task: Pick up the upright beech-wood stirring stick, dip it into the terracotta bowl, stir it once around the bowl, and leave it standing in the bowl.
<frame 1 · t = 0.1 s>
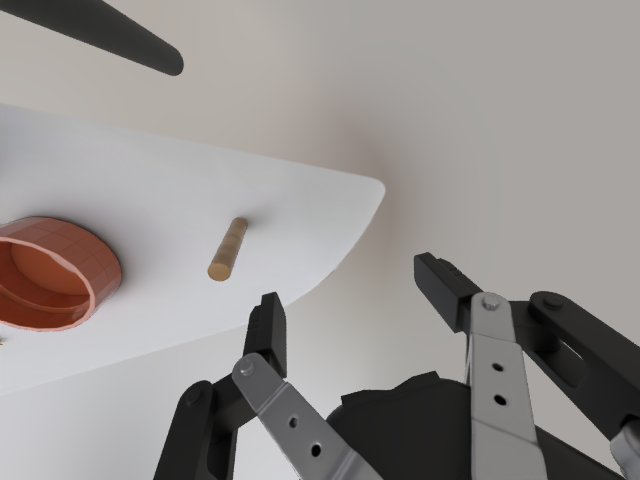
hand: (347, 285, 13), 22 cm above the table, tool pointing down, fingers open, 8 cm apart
stirring stick: (239, 224, 34), on the table
bowl: (66, 262, 33), on the table
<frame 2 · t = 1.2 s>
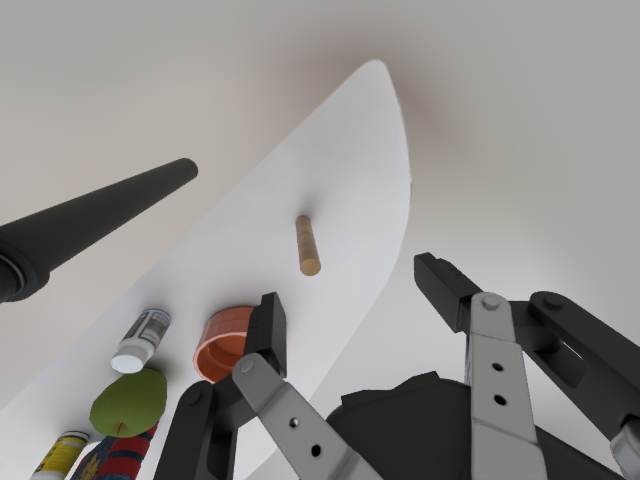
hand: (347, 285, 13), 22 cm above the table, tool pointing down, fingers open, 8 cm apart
pill bottle: (156, 318, 40), on the table
stirring stick: (302, 222, 35), on the table
bowl: (244, 333, 44), on the table
supplement bottle: (76, 435, 52), on the table
red striped curved tube: (122, 436, 54), on the table
apple: (149, 372, 45), on the table
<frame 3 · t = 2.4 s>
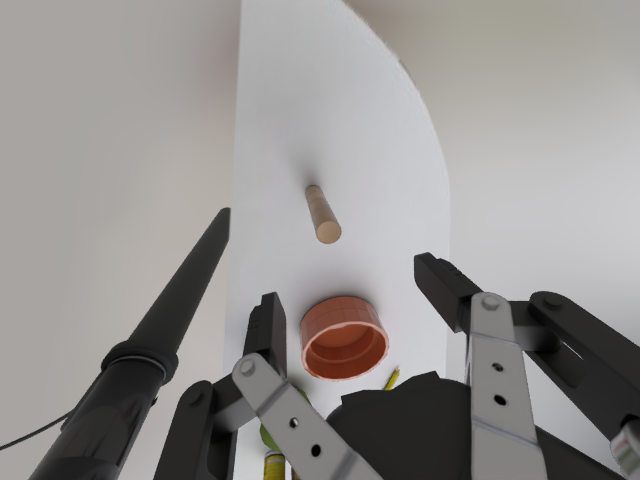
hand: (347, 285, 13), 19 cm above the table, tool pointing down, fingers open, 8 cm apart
pencil: (385, 388, 54), on the table
stirring stick: (313, 193, 30), on the table
bowl: (338, 324, 42), on the table
supplement bottle: (275, 453, 62), on the table
apple: (288, 390, 50), on the table
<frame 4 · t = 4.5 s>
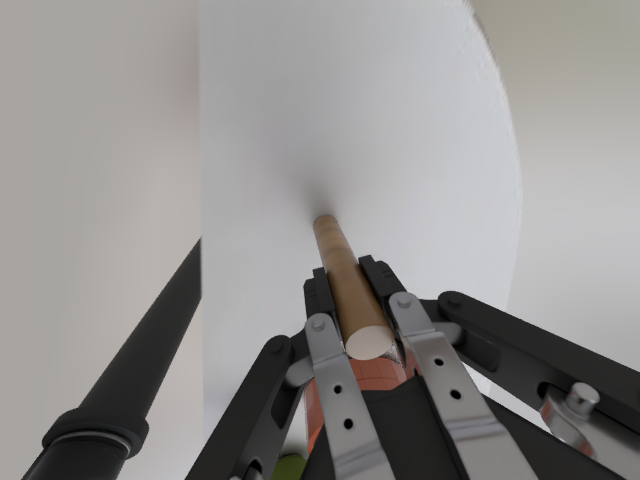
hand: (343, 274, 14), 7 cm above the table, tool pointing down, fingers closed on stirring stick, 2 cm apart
stirring stick: (325, 226, 20), on the table, touching gripper
bowl: (354, 386, 32), on the table
apple: (289, 457, 40), on the table
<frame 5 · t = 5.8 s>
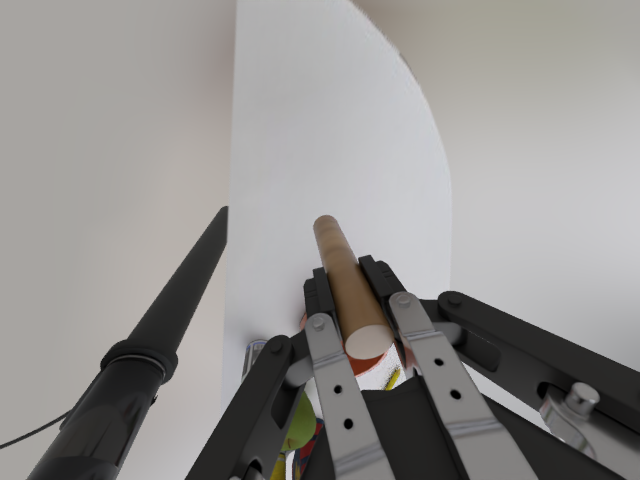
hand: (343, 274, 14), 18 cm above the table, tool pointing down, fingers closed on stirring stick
pencil: (386, 388, 54), on the table
pill bottle: (260, 347, 42), on the table
stirring stick: (325, 226, 20), point 11 cm above the table, touching gripper
bowl: (338, 323, 42), on the table
supplement bottle: (275, 452, 62), on the table
red striped curved tube: (307, 441, 62), on the table
apple: (288, 389, 50), on the table
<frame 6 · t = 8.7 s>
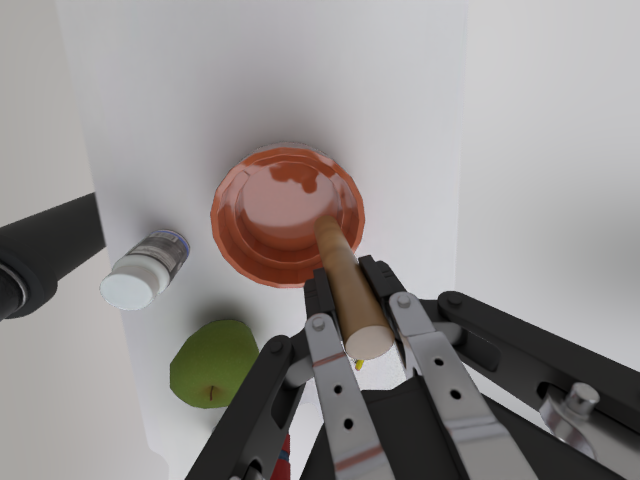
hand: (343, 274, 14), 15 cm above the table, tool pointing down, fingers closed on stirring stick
pencil: (370, 332, 39), on the table
pill bottle: (169, 245, 27), on the table
stirring stick: (325, 226, 20), point 8 cm above the table, touching gripper
bowl: (290, 207, 27), on the table
red striped curved tube: (268, 414, 46), on the table
apple: (228, 328, 35), on the table
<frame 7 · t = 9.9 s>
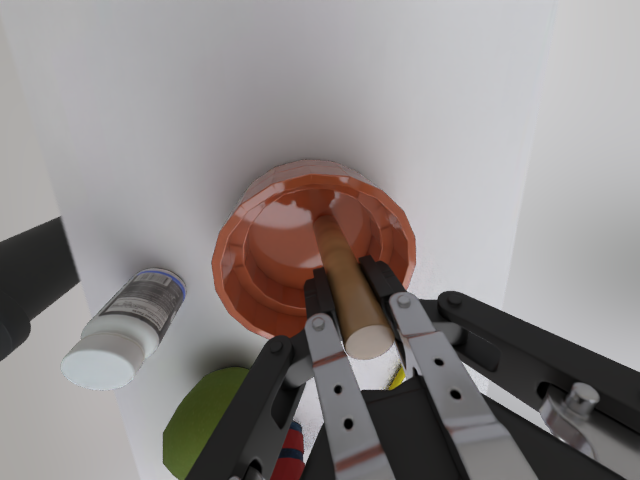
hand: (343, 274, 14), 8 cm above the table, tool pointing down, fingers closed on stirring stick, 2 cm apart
pencil: (398, 372, 34), on the table
pill bottle: (161, 285, 22), on the table
stirring stick: (325, 226, 20), point 1 cm above the table, touching gripper
bowl: (311, 238, 22), on the table
red striped curved tube: (278, 456, 41), on the table
apple: (234, 373, 29), on the table
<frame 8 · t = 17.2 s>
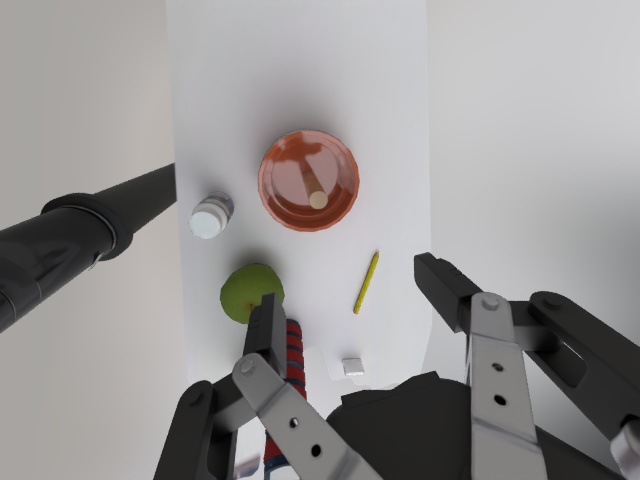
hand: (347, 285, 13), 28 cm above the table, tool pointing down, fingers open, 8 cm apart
pencil: (365, 281, 50), on the table
pill bottle: (220, 205, 38), on the table
stirring stick: (309, 177, 37), point 1 cm above the table, touching bowl
bowl: (306, 177, 38), on the table
eraser: (351, 360, 62), on the table
red striped curved tube: (283, 354, 57), on the table
apple: (257, 274, 45), on the table
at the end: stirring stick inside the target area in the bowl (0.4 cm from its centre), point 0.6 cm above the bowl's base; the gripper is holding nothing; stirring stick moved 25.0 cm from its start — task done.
